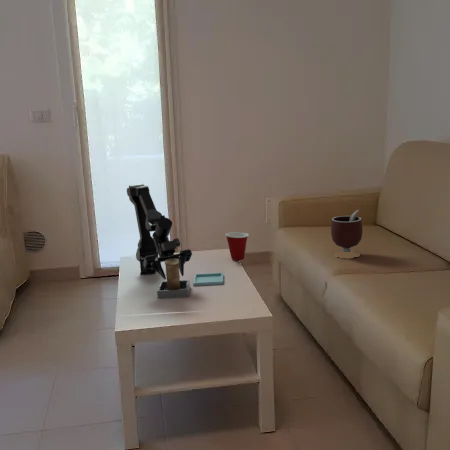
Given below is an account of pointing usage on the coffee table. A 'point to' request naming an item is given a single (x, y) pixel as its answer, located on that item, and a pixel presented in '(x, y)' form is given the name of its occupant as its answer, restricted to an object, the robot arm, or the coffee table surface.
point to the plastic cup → (237, 244)
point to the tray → (208, 279)
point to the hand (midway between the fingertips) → (174, 277)
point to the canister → (172, 274)
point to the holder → (175, 293)
